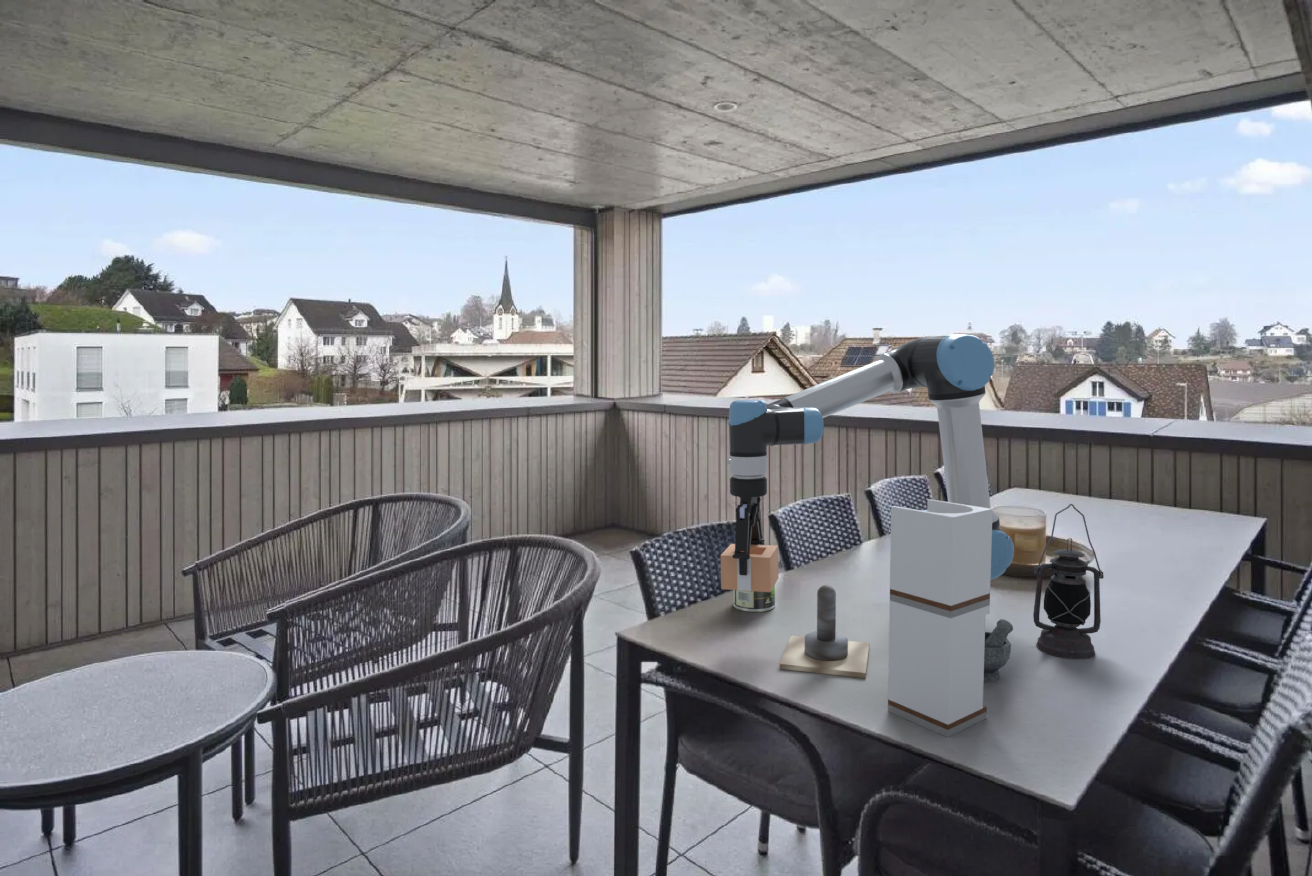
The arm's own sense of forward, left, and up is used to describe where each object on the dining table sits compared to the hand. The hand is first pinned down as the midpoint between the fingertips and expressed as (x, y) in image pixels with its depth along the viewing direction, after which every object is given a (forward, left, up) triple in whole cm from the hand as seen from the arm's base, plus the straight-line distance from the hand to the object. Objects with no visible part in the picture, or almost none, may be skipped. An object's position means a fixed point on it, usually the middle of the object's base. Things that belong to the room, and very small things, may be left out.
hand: (749, 582), depth 159 cm
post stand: (-16, +2, -14) cm, 21 cm away
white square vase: (-36, +22, -14) cm, 44 cm away
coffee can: (+4, -27, -14) cm, 31 cm away
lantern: (-62, -16, -14) cm, 65 cm away
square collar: (0, 0, 0) cm, 0 cm away
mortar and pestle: (-45, +3, -14) cm, 47 cm away
